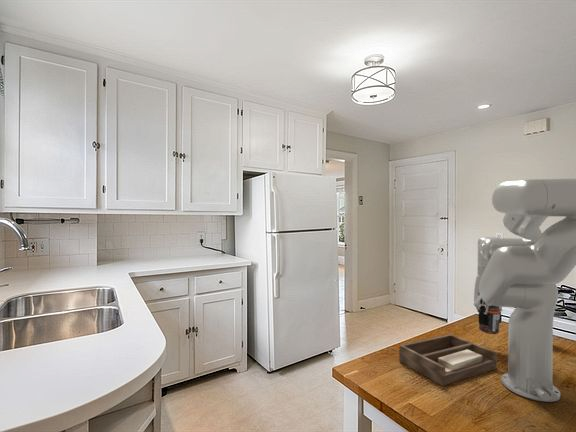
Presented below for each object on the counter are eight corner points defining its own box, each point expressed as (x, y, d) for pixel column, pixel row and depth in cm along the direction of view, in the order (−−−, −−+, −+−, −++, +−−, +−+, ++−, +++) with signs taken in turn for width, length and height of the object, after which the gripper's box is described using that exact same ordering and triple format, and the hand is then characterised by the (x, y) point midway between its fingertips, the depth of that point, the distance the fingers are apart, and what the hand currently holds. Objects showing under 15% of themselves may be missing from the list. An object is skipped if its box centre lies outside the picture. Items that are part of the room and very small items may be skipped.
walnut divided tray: (496, 368, 94) (496, 352, 94) (442, 385, 84) (442, 367, 84) (450, 347, 108) (450, 333, 108) (399, 360, 98) (399, 345, 98)
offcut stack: (485, 369, 94) (485, 354, 94) (446, 382, 86) (446, 367, 86) (468, 362, 98) (468, 348, 98) (430, 374, 91) (430, 359, 91)
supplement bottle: (474, 329, 108) (476, 298, 108) (485, 327, 110) (487, 296, 110) (491, 336, 103) (493, 303, 102) (502, 333, 105) (504, 301, 105)
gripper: (494, 268, 113) (494, 316, 113) (463, 272, 106) (463, 323, 106) (516, 272, 106) (516, 323, 106) (485, 276, 99) (484, 330, 99)
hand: (489, 322), depth 106 cm, fingers closed on supplement bottle, 6 cm apart
